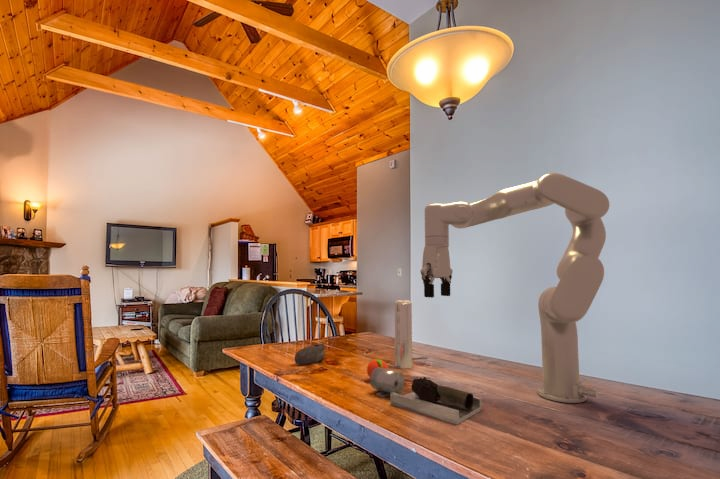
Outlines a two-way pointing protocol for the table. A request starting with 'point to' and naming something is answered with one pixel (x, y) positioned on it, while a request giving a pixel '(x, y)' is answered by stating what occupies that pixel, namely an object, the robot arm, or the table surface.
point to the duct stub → (386, 381)
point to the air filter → (403, 334)
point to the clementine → (375, 365)
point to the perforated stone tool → (310, 354)
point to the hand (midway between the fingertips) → (437, 296)
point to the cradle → (435, 407)
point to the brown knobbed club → (441, 393)
